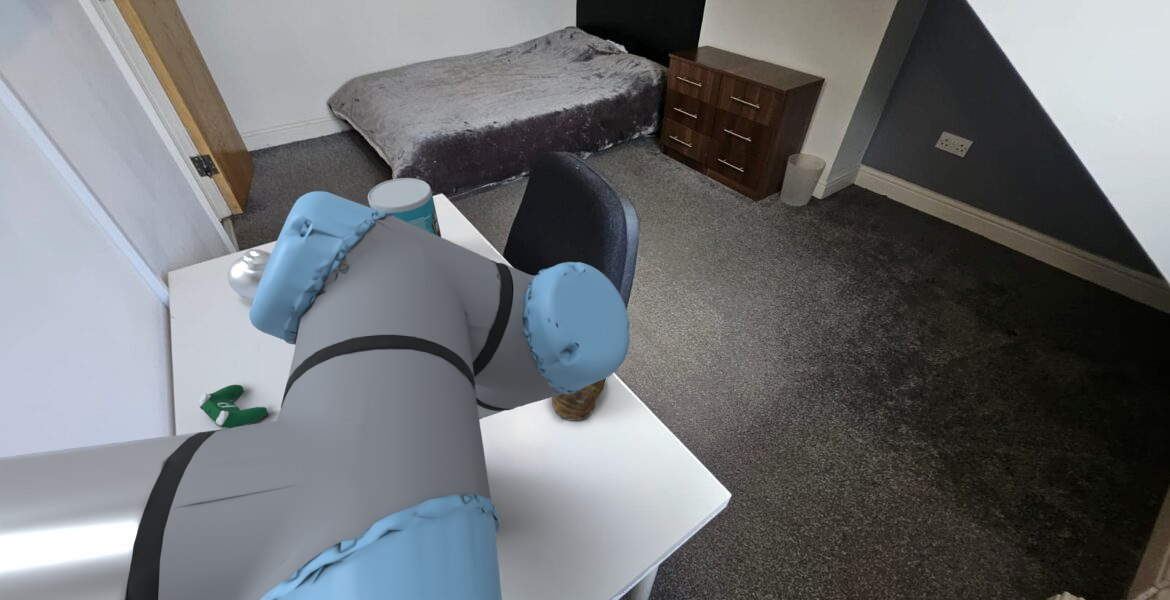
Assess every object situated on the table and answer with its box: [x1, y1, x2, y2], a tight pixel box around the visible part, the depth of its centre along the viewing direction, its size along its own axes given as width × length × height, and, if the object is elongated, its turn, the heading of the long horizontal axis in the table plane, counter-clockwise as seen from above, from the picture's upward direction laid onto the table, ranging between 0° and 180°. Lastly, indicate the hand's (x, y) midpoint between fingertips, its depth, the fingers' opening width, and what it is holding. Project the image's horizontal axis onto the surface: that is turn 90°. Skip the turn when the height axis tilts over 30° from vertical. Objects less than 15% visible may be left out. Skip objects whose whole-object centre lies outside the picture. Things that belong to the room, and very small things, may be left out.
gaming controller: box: [198, 384, 269, 429], centre depth 73 cm, size 9×4×6 cm
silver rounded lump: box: [227, 248, 271, 300], centre depth 93 cm, size 9×10×10 cm
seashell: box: [551, 378, 607, 421], centre depth 76 cm, size 11×9×8 cm
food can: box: [367, 177, 443, 238], centre depth 98 cm, size 12×12×18 cm
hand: (369, 418), depth 54 cm, fingers closed on milkshake, 5 cm apart
